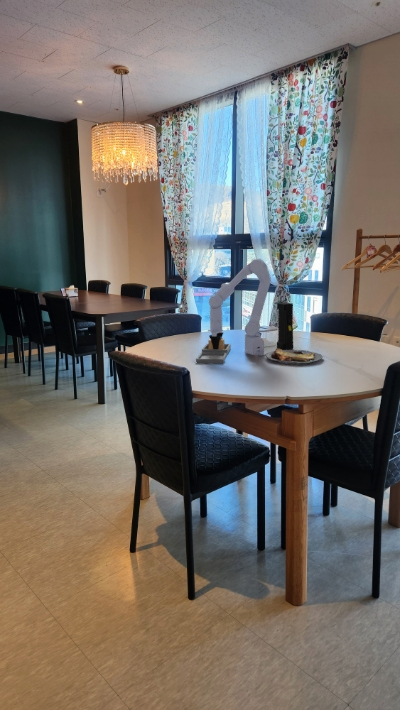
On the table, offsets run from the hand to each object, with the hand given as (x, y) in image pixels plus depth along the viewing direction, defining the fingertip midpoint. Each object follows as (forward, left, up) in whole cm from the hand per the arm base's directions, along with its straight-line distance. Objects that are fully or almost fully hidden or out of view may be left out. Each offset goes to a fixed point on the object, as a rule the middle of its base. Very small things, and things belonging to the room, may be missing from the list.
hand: (216, 348), depth 228 cm
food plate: (-29, -24, -3) cm, 38 cm away
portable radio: (-8, -34, -2) cm, 35 cm away
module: (0, 0, -1) cm, 1 cm away
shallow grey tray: (-12, +8, -2) cm, 15 cm away
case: (0, 0, -2) cm, 2 cm away
